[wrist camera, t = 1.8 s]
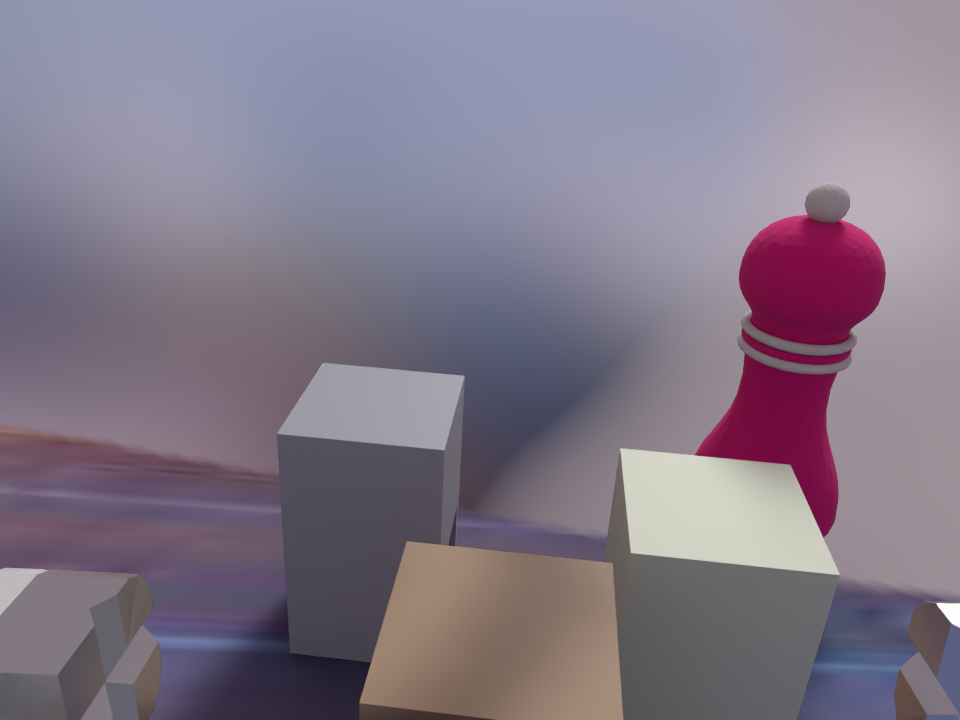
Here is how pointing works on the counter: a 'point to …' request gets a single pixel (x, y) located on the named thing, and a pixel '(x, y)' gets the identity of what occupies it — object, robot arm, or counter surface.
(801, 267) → the pepper mill
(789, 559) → the cover
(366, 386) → the cover
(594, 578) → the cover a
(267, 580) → the counter surface
